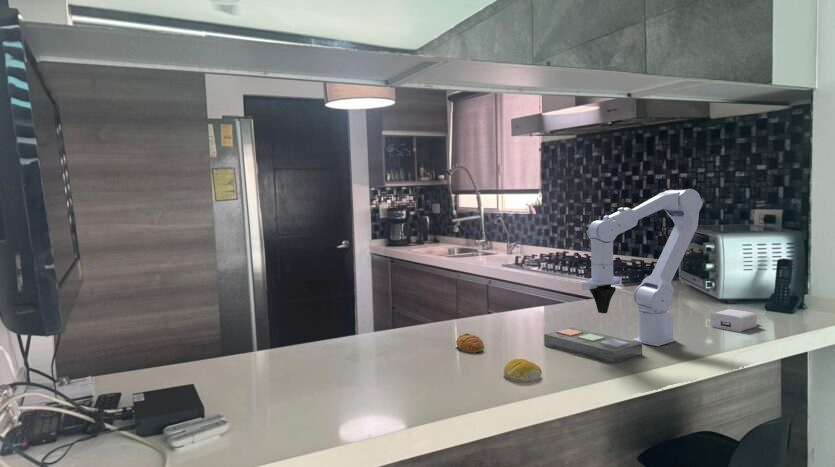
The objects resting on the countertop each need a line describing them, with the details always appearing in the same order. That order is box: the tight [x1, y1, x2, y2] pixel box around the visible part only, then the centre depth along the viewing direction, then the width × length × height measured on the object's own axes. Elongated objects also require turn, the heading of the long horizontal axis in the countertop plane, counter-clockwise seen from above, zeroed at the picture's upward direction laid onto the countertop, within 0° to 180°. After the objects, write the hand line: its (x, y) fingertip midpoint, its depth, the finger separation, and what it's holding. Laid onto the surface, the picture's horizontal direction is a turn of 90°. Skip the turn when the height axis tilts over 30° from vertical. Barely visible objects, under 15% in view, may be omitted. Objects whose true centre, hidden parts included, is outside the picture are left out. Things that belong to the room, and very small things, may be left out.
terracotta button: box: [557, 328, 582, 337], centre depth 157 cm, size 5×5×3 cm
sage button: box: [578, 334, 605, 342], centre depth 151 cm, size 5×5×3 cm
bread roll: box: [503, 358, 543, 383], centre depth 131 cm, size 8×9×4 cm
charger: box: [710, 308, 758, 333], centre depth 172 cm, size 5×9×15 cm
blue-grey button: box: [600, 339, 629, 348], centre depth 145 cm, size 5×5×3 cm
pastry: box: [455, 333, 485, 354], centre depth 155 cm, size 9×7×4 cm
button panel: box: [543, 327, 643, 364], centre depth 151 cm, size 12×23×3 cm, turn 34°
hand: (602, 312), depth 153 cm, fingers closed
